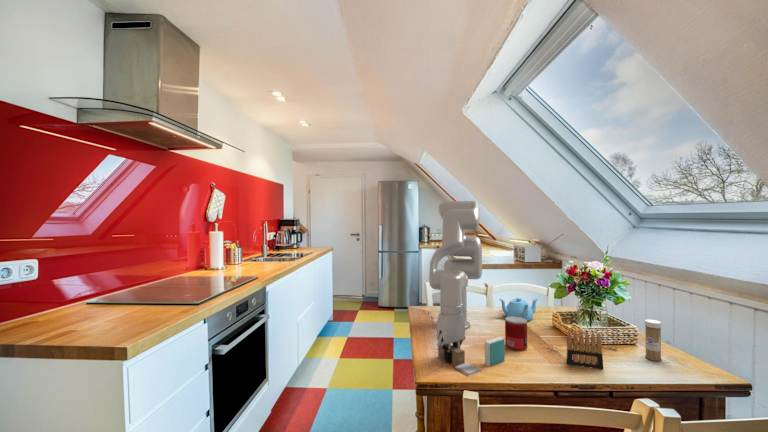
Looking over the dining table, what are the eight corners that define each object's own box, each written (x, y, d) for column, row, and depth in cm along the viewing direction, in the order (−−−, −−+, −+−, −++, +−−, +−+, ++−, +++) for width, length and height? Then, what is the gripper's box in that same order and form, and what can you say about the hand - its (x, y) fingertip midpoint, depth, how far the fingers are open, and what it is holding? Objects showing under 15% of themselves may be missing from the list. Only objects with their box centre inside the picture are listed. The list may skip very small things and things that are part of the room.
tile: (484, 364, 115) (484, 341, 115) (499, 358, 120) (499, 336, 120) (490, 366, 113) (490, 343, 114) (505, 361, 118) (504, 338, 118)
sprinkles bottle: (643, 358, 119) (643, 320, 119) (646, 354, 122) (646, 318, 122) (660, 362, 115) (659, 323, 115) (662, 358, 118) (662, 321, 119)
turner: (435, 358, 120) (435, 344, 121) (447, 354, 124) (447, 341, 124) (468, 375, 107) (468, 360, 107) (481, 371, 110) (481, 356, 110)
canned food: (529, 352, 125) (529, 322, 125) (507, 350, 127) (506, 321, 127) (524, 344, 133) (524, 316, 133) (504, 343, 135) (503, 315, 135)
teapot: (511, 312, 177) (511, 293, 177) (540, 318, 166) (540, 298, 166) (498, 318, 167) (498, 298, 167) (528, 325, 156) (528, 303, 156)
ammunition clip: (602, 367, 112) (601, 331, 113) (603, 369, 111) (603, 333, 111) (566, 362, 116) (566, 328, 116) (567, 364, 115) (566, 329, 115)
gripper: (459, 303, 125) (460, 352, 125) (426, 310, 116) (427, 362, 116) (475, 307, 119) (475, 359, 119) (441, 315, 110) (442, 371, 110)
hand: (451, 360), depth 118 cm, fingers closed on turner, 2 cm apart
